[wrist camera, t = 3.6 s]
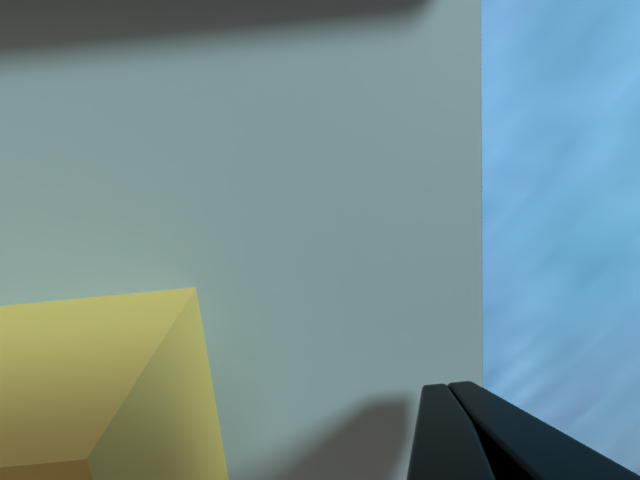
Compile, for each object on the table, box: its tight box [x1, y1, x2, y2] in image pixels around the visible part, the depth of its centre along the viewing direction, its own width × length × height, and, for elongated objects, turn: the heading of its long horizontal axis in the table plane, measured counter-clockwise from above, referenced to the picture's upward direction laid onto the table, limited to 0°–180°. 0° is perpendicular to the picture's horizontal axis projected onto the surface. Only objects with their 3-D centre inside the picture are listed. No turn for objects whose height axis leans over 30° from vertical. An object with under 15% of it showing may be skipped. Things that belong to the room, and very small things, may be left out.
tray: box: [0, 0, 483, 480], centre depth 10 cm, size 17×17×4 cm
